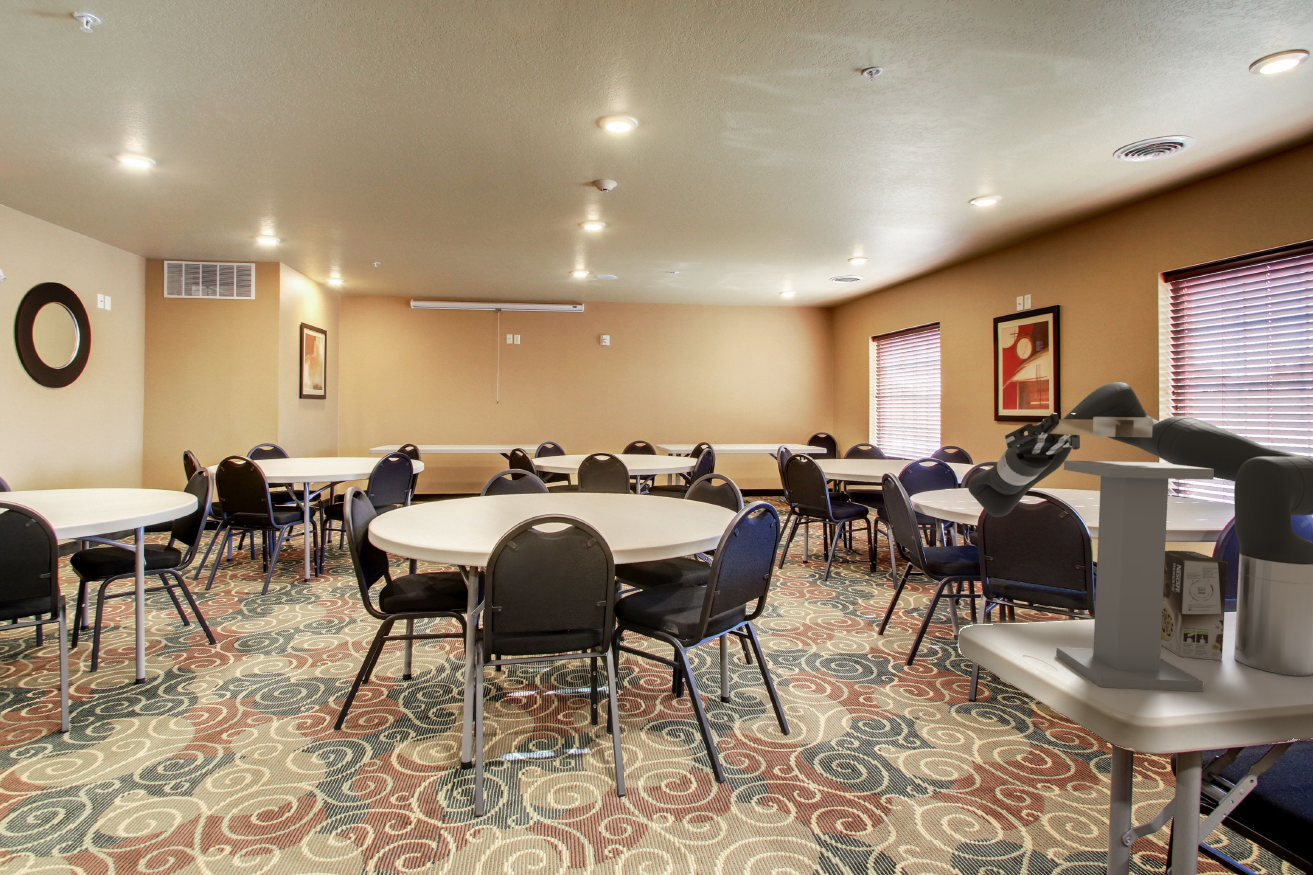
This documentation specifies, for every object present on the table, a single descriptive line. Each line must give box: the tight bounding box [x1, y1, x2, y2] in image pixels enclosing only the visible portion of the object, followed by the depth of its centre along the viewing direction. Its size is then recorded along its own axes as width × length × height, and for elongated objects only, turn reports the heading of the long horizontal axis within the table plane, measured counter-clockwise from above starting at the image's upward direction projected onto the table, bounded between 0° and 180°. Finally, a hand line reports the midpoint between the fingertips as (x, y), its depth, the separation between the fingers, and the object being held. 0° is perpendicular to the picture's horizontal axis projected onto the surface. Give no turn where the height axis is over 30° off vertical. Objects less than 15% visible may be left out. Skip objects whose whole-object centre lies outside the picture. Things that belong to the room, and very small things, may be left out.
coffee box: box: [1161, 550, 1228, 661], centre depth 111 cm, size 9×6×16 cm
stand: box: [1055, 460, 1214, 693], centre depth 100 cm, size 14×12×32 cm
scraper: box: [1042, 417, 1154, 438], centre depth 110 cm, size 8×22×3 cm, turn 175°
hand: (1065, 417), depth 116 cm, fingers closed on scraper, 2 cm apart
